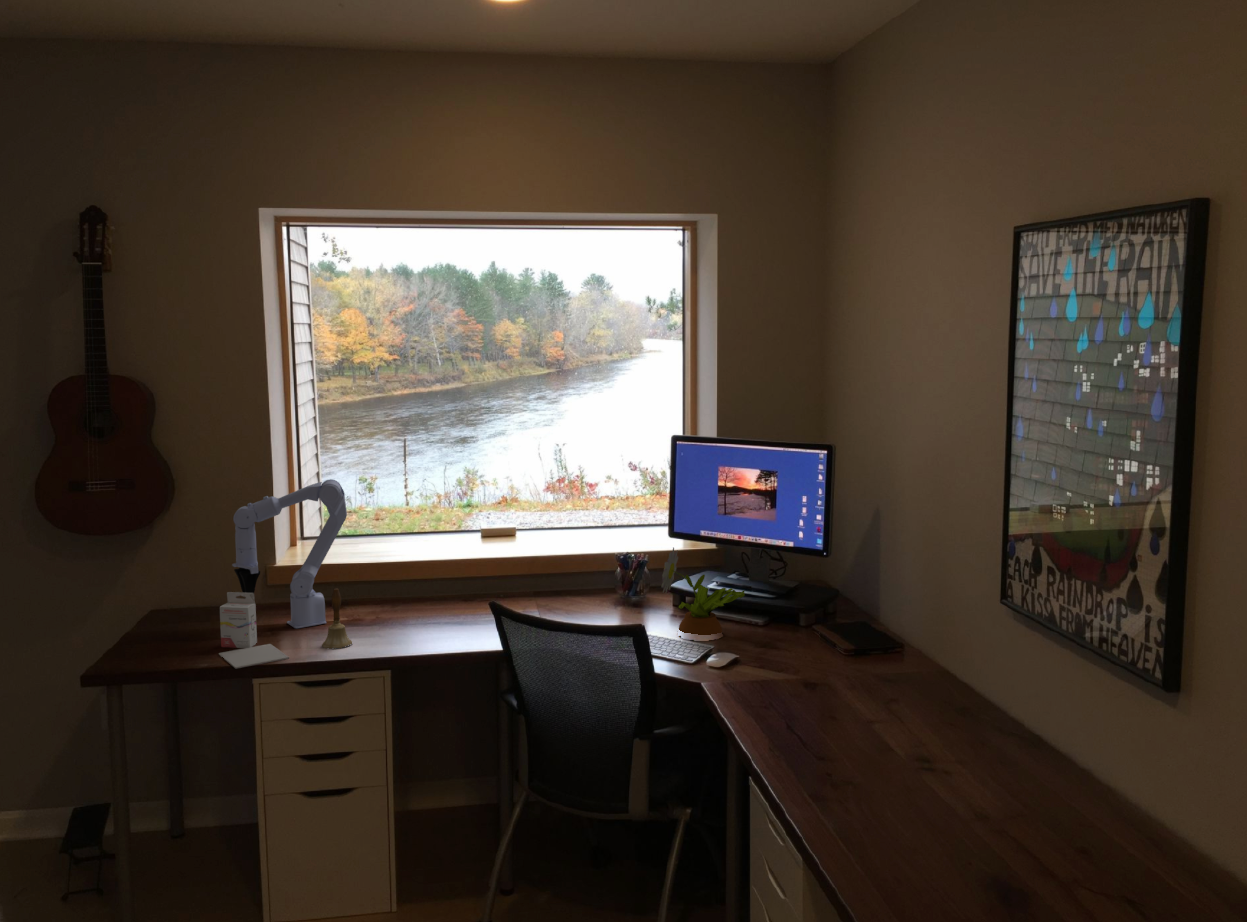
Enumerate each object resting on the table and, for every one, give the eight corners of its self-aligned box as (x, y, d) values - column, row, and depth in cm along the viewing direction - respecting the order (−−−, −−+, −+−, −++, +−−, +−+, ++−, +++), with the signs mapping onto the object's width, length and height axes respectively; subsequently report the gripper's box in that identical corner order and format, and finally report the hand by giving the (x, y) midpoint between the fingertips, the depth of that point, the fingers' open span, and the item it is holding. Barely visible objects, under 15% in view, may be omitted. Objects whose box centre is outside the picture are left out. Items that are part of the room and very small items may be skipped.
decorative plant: (675, 620, 316) (676, 538, 313) (754, 627, 308) (755, 543, 305) (647, 645, 291) (647, 557, 288) (733, 654, 283) (733, 563, 280)
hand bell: (337, 638, 299) (335, 584, 297) (359, 643, 295) (356, 587, 293) (315, 646, 292) (313, 590, 290) (337, 651, 288) (334, 594, 286)
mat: (270, 645, 293) (270, 643, 293) (289, 658, 281) (288, 657, 281) (218, 654, 285) (218, 653, 285) (235, 668, 273) (235, 667, 273)
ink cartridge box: (220, 647, 291) (217, 595, 289) (228, 642, 296) (226, 591, 294) (250, 648, 290) (247, 596, 288) (258, 643, 295) (255, 592, 293)
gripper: (224, 545, 311) (226, 590, 313) (239, 553, 299) (241, 600, 301) (248, 542, 315) (250, 586, 317) (264, 550, 303) (266, 596, 305)
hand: (248, 593), depth 309 cm, fingers open, 3 cm apart
